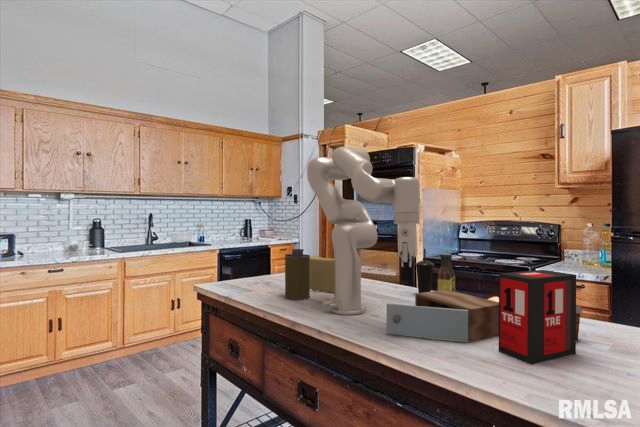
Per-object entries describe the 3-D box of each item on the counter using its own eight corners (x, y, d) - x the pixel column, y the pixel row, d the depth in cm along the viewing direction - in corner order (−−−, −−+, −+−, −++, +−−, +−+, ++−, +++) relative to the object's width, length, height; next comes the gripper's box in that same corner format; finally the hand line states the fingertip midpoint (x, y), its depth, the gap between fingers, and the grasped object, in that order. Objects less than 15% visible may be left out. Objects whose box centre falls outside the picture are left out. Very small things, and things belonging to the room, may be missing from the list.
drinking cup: (434, 294, 162) (434, 248, 162) (433, 298, 154) (433, 249, 154) (416, 293, 164) (416, 247, 164) (414, 296, 157) (414, 249, 157)
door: (468, 343, 100) (468, 312, 100) (385, 335, 107) (385, 305, 107) (467, 340, 103) (467, 310, 103) (386, 332, 109) (387, 303, 109)
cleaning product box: (542, 342, 102) (542, 269, 102) (575, 354, 94) (576, 274, 94) (498, 351, 96) (499, 273, 96) (530, 364, 88) (530, 279, 88)
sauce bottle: (456, 309, 137) (456, 255, 137) (438, 308, 138) (438, 254, 138) (453, 305, 143) (453, 253, 143) (436, 304, 144) (436, 252, 144)
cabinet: (470, 342, 102) (470, 309, 102) (415, 321, 122) (415, 293, 122) (504, 334, 109) (504, 303, 109) (446, 315, 128) (446, 289, 128)
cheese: (350, 292, 165) (350, 258, 165) (336, 296, 158) (336, 260, 157) (313, 286, 180) (313, 254, 180) (299, 289, 172) (299, 256, 172)
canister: (314, 296, 157) (314, 248, 157) (300, 301, 148) (300, 251, 148) (293, 293, 162) (294, 247, 162) (278, 298, 154) (278, 249, 154)
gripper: (418, 219, 104) (418, 285, 103) (420, 218, 118) (421, 277, 118) (390, 219, 106) (391, 284, 106) (396, 218, 120) (396, 276, 120)
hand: (406, 280), depth 112 cm, fingers closed
